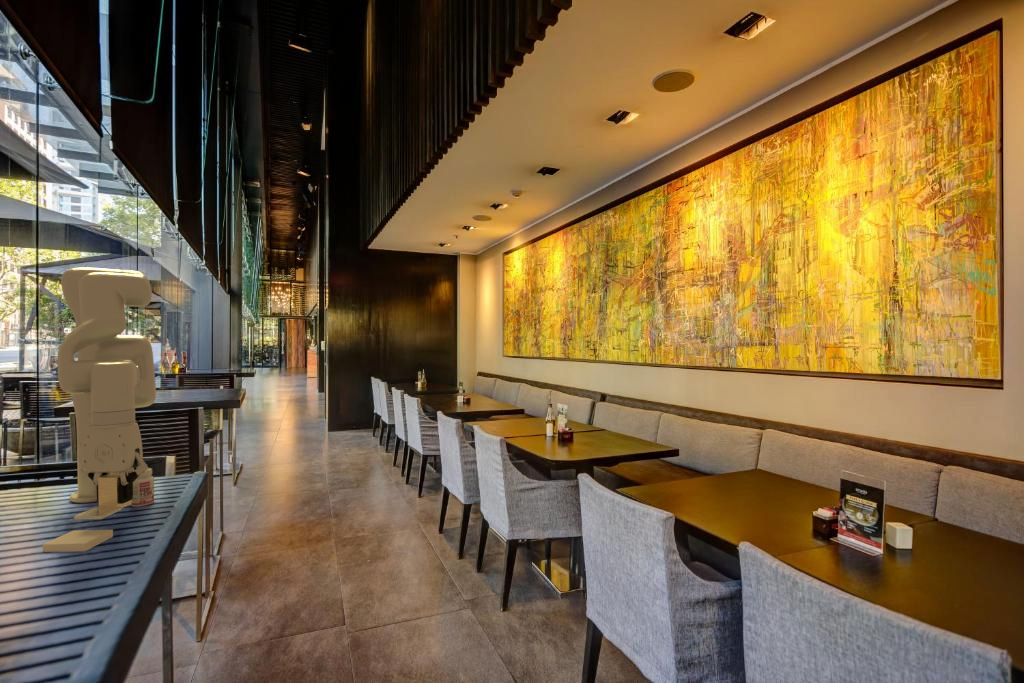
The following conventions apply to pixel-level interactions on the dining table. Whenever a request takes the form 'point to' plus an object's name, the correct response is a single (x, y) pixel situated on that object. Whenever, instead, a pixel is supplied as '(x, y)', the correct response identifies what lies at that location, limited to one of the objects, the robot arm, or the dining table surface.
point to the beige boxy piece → (106, 498)
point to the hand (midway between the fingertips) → (115, 500)
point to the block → (77, 540)
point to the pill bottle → (143, 489)
